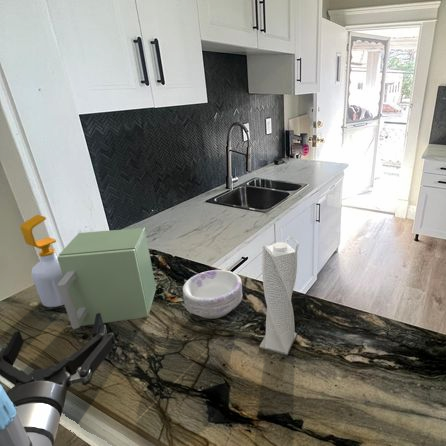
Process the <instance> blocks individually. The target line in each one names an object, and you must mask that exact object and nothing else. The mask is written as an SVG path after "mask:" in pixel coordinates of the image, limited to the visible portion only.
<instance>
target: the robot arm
mask: <svg viewBox="0 0 446 446" xmlns="http://www.w3.org/2000/svg"><path fill="white" fill-rule="evenodd" d="M91 336H92V338H91V339H90V340H89V341H88V342H86V343H85V344H84V345H81V346H80V348H79V349H78V350H76V351H75V352H74V353H73V354H71V355H70V356H69V357H68V358H67V357H65V358H63V359H62V360H60V361H59V362H58V363H57V364H53V365H49V366H47V367H44V368H38V369H34V370H32V372H30V373H27V372H25V371H24V370H22V369H18V368H17V367H15V366H14V364H15V362H16V360H17V358H18V356H19V353H20V351H21V349H22V347H23V345H24V343H25V341H24V338H23V336H22V334H21V331H20V330H16V331H14V332H13V334H12V336H11V338H10V340H9V342H8V343H7V346H6V347H3V348H1V350H0V377H2V378H3V379H4V380H6V381H8V382H9V383H10V384H12V385H14V386H12V387H11V388H10V389H9V390H8V391H7V392H6V390H5V389H4V387H3V385H2V384H1V383H0V446H54V445H55V442H56V437H57V435H58V429H59V426H60V422H61V417H62V414H63V410H64V407H65V402H66V398H67V392H68V390H69V389H70V387H71V386H72V385H73V384H78V383H82V385H83V386H88V385H90V383H91V382H92V379H93V376H94V374H95V372H96V371H97V370H98V368H99V367H100V366H101V364H102V363H103V362H104V360H105V359H106V358H107V357H108V355H109V354H110V353H111V351H112V350H113V349H114V347H115V346H116V344H117V341H116V338H115V333H114V332H108V329H107V326H106V323H103V320H102V317H101V313H97V314H96V317H95V322H94V324H93V328H92V333H91Z"/></svg>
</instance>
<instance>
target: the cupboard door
mask: <svg viewBox="0 0 446 446" xmlns="http://www.w3.org/2000/svg"><path fill="white" fill-rule="evenodd" d="M57 259H58V262H59V265H60V268H61V271H62V274H63V278H62V279H61V281H60V282H59V283H58V287H59V290H60V293H61V296H62V299H63V302H64V305H63V306H64V308H65V311H66V313H67V317H68V319H69V323H70V326H71V328H72V329H73V330H76V329H79V328H80V327H83V326H85V327H86V326H91V325H94V322H95V317H96V314H97V313H101V317H102V320H103V324H107V323H113V322H122V321H129V320H136V319H143V318H148V317H149V315H150V313H149V314H148V309H147V304H146V299H145V295H144V290H143V285H142V280H141V276H140V271H139V266H138V261H137V257H136V252H135V249H128V250H116V251H105V252H94V253H82V254H71V255H59V254H58V256H57Z"/></svg>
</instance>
